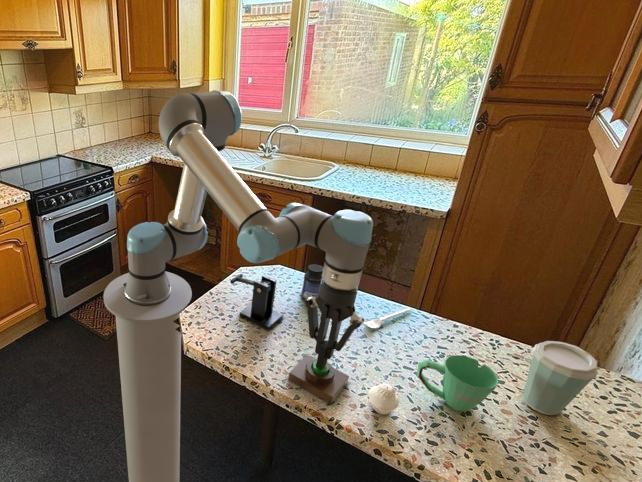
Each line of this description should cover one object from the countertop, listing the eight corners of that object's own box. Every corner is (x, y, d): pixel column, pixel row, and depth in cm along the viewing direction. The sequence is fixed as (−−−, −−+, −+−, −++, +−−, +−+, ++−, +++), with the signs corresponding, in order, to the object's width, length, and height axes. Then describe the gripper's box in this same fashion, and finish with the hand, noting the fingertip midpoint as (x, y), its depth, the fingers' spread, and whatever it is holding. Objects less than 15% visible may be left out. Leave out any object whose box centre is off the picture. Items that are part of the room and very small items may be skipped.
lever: (230, 285, 121) (229, 278, 120) (240, 278, 124) (239, 271, 124) (264, 294, 113) (263, 287, 112) (273, 287, 116) (273, 280, 115)
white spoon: (414, 313, 122) (415, 308, 121) (367, 332, 114) (369, 327, 113) (404, 307, 124) (406, 303, 123) (358, 325, 116) (360, 320, 116)
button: (309, 371, 96) (310, 366, 95) (316, 363, 98) (317, 358, 98) (323, 379, 94) (324, 373, 93) (330, 371, 96) (331, 365, 95)
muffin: (381, 395, 94) (388, 373, 90) (401, 416, 88) (409, 393, 85) (359, 401, 92) (365, 378, 89) (377, 423, 87) (385, 400, 84)
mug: (477, 394, 94) (492, 362, 89) (487, 427, 86) (504, 394, 81) (407, 375, 99) (418, 344, 95) (410, 405, 91) (422, 372, 87)
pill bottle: (324, 301, 127) (330, 271, 122) (307, 304, 126) (312, 274, 121) (313, 290, 133) (319, 262, 128) (297, 293, 131) (302, 264, 126)
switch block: (288, 379, 98) (290, 366, 96) (305, 360, 104) (308, 348, 102) (331, 404, 91) (334, 391, 89) (347, 382, 97) (350, 370, 95)
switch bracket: (239, 315, 121) (242, 279, 115) (254, 304, 126) (258, 269, 120) (268, 330, 114) (273, 293, 109) (282, 318, 120) (288, 282, 114)
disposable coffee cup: (534, 423, 87) (564, 371, 80) (498, 385, 97) (523, 336, 90) (583, 423, 87) (617, 372, 80) (542, 385, 97) (570, 336, 90)
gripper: (303, 277, 86) (288, 359, 97) (364, 302, 78) (341, 389, 89) (318, 265, 91) (303, 344, 102) (377, 286, 83) (354, 371, 94)
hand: (321, 365), depth 95 cm, fingers closed
